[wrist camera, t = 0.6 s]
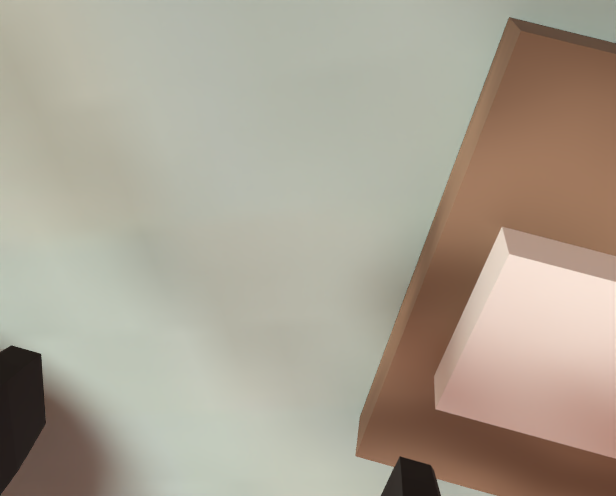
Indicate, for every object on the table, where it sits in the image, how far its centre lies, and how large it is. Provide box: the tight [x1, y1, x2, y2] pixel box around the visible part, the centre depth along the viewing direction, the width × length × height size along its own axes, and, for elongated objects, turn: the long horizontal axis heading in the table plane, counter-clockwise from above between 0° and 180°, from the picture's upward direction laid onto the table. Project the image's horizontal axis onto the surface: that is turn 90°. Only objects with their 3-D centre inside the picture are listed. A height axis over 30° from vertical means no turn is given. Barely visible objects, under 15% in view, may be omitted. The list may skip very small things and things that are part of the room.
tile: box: [434, 227, 616, 459], centre depth 16 cm, size 6×9×2 cm, turn 79°
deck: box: [355, 17, 616, 496], centre depth 18 cm, size 16×12×2 cm
